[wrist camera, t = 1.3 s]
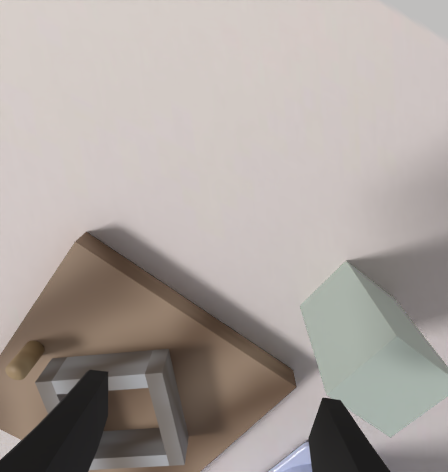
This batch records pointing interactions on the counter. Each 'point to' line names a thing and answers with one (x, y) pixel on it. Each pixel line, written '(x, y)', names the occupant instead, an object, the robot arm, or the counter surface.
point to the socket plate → (136, 323)
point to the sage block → (372, 352)
